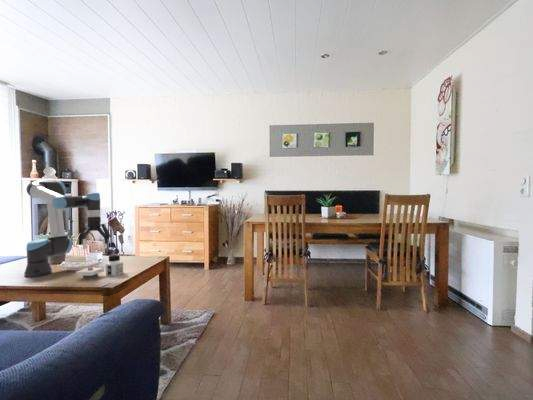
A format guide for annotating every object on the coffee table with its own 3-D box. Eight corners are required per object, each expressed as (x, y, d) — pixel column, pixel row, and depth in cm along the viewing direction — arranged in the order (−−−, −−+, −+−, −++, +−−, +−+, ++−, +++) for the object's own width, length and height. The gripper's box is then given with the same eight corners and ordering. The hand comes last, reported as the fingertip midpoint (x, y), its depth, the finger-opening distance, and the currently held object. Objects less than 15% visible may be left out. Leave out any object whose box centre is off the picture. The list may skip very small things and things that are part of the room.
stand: (82, 278, 195) (82, 274, 195) (90, 276, 201) (90, 271, 201) (90, 279, 194) (90, 274, 193) (98, 276, 199) (97, 272, 199)
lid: (76, 275, 193) (76, 269, 193) (89, 270, 204) (89, 264, 203) (91, 275, 190) (90, 269, 190) (103, 271, 201) (103, 265, 201)
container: (115, 276, 200) (115, 256, 200) (105, 275, 202) (105, 256, 201) (123, 272, 208) (123, 254, 207) (113, 272, 209) (113, 253, 209)
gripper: (71, 217, 195) (72, 249, 196) (109, 216, 195) (110, 249, 195) (79, 216, 203) (80, 247, 204) (115, 215, 202) (116, 247, 203)
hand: (95, 248), depth 199 cm, fingers open, 13 cm apart
